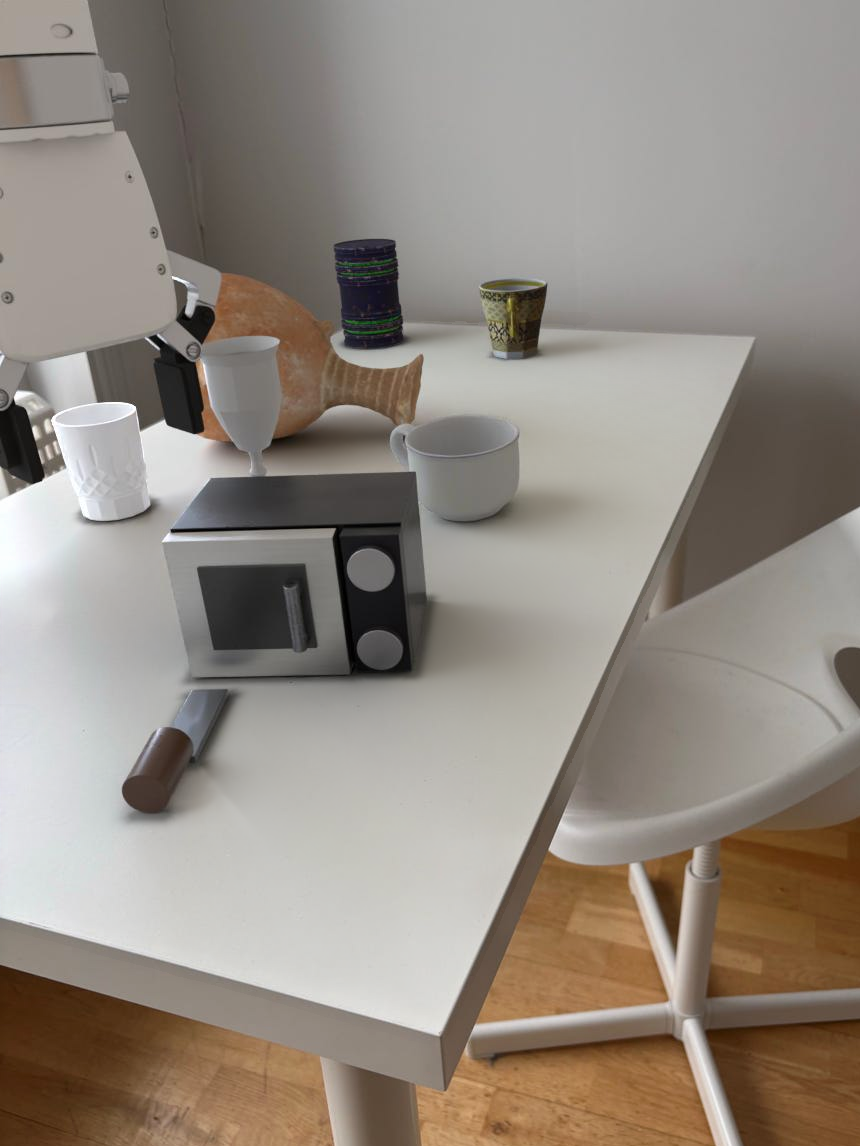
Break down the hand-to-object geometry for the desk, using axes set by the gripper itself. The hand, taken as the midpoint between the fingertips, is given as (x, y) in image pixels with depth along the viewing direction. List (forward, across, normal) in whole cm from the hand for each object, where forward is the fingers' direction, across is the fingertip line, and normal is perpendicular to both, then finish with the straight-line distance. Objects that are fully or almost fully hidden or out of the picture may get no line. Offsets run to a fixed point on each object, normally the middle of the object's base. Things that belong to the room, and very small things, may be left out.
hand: (110, 452), depth 56 cm
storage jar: (+20, -83, -75) cm, 114 cm away
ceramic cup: (+20, -88, -50) cm, 103 cm away
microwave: (+20, -15, -4) cm, 25 cm away
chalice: (+20, -24, -23) cm, 39 cm away
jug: (+20, -45, -45) cm, 66 cm away
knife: (+20, 0, +1) cm, 20 cm away
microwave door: (+20, -9, -2) cm, 22 cm away
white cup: (+20, -19, -42) cm, 51 cm away
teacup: (+20, -40, -15) cm, 47 cm away
